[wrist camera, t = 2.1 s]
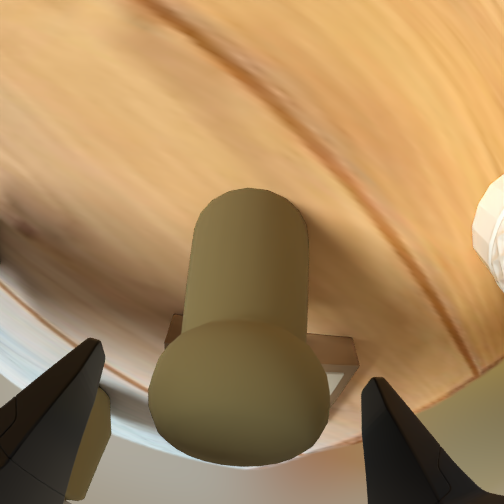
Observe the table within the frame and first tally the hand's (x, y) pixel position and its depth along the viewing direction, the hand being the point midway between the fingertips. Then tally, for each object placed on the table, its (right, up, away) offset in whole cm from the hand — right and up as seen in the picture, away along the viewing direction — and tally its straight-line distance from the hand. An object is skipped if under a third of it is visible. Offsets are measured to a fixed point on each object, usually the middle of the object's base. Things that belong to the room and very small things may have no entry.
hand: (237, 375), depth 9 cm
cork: (0, +4, +7) cm, 9 cm away
